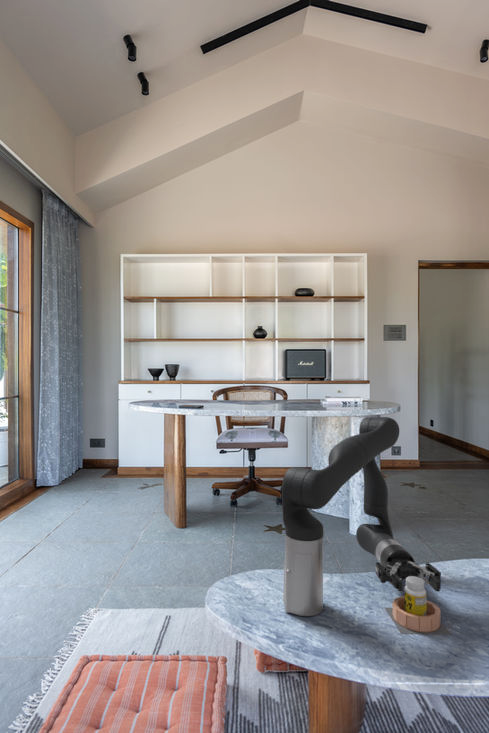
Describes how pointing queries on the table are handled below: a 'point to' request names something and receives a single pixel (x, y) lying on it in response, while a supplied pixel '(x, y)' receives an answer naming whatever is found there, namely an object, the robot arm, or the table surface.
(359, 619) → the table surface
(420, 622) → the bowl
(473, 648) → the table surface
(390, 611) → the mat
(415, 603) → the supplement bottle
